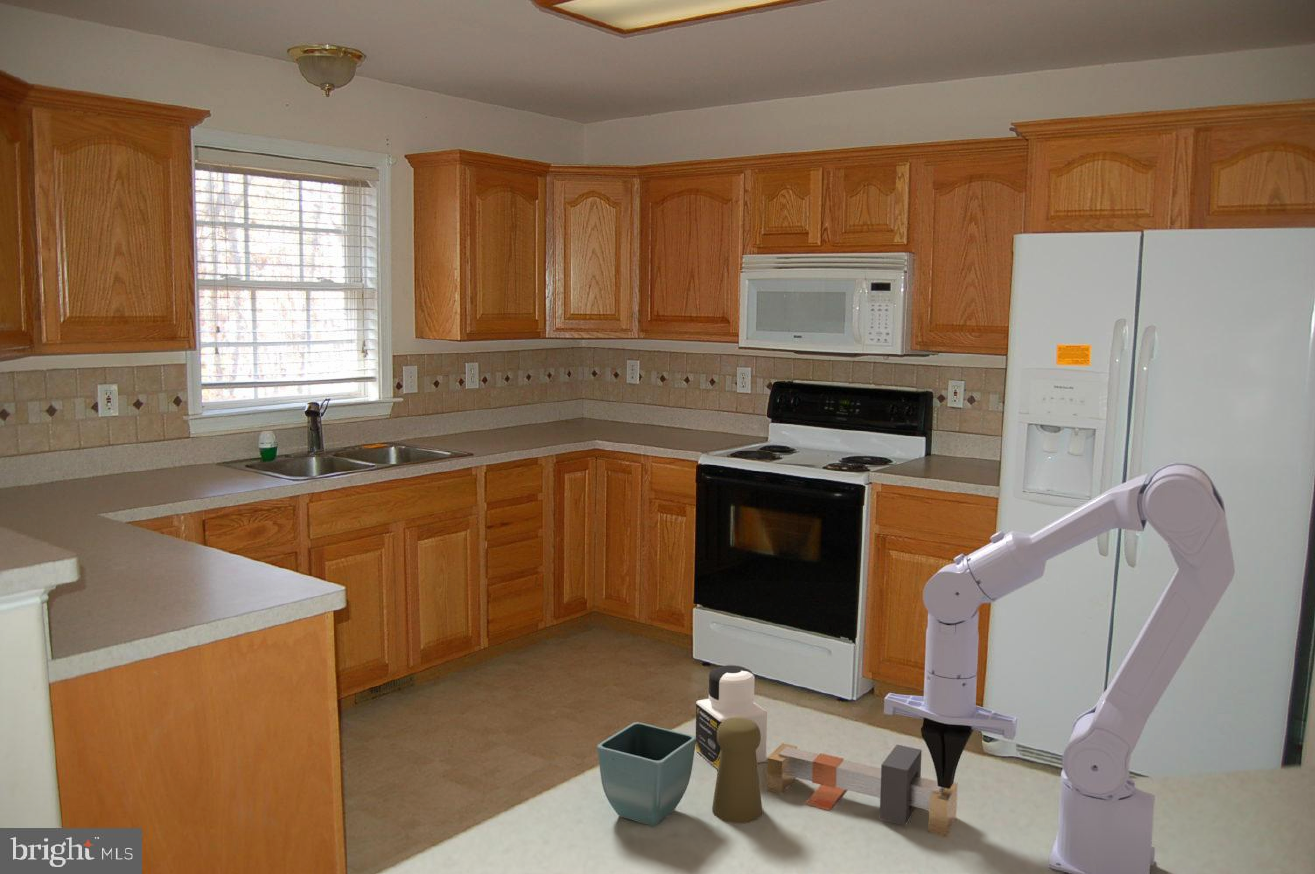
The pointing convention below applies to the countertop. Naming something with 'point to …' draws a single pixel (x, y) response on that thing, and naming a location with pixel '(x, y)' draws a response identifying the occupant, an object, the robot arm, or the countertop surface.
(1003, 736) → the robot arm
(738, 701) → the medicine bottle
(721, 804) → the brown pawn figure
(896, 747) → the collar
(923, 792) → the rail
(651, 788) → the flower pot
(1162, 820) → the countertop surface
